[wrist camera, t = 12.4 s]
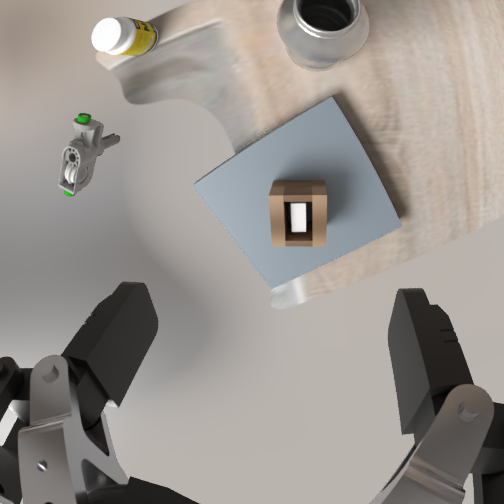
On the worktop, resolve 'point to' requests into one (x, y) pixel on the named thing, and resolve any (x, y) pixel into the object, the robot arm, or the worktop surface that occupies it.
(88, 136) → the mechanical component
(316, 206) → the tan hollow open box
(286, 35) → the plastic bottle
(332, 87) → the worktop surface
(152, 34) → the supplement bottle
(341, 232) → the flat blue-gray panel
